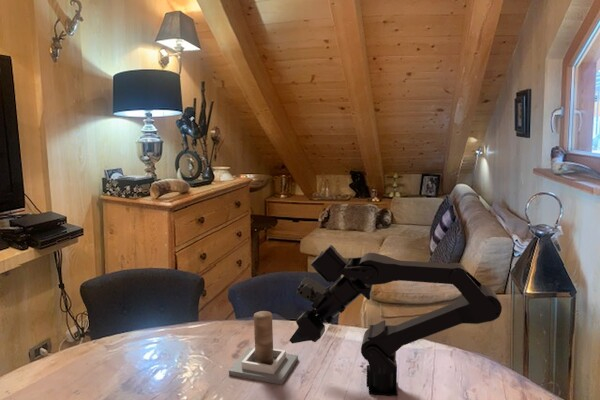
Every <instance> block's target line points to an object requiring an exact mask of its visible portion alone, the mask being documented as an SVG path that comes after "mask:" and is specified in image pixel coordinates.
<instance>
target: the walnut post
mask: <svg viewBox="0 0 600 400" xmlns="http://www.w3.org/2000/svg"><path fill="white" fill-rule="evenodd" d="M253 329H254V330H253V332H254V334H253V335H254V347H255V361H256V363H261V364H267V365H272V364H273V363H274V358H273V349H274V331H273V329H274V328H273V313H272V312H271V311H268V310H267V311H266V310H262V311H261V310H260V311H257V312H255V313H254V314H253Z"/></svg>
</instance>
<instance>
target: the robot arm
mask: <svg viewBox="0 0 600 400" xmlns="http://www.w3.org/2000/svg"><path fill="white" fill-rule="evenodd" d="M309 266H310V267H311V268H312V269H313V270H314V271H315V272H316V273H317V274H318V275H319V276H320V277H321V278H322V279H323V280H324V281H325V282H326V283H327V282H328V283H334V284H332V285H331V284H329V286H327V287H326V286H324V285H323V284H321V283H320V282H318V281H316V280H315V279H312V278H311V277H310V276H305V277H304V278H303V279H302V280H301V282H300V284H299V285H298V287H297V290H296V295H297V296H299V297H300V298H302V299H304V300H305V301H309V302H312V303H311V304H310V306H311V307H312V309H311V310H305V311H304V312H302V314H301V315H300V316H299V317H298V318H297V319H296V321H295V322H296V325H297V328H296V330H295V331H294V333H293V334H292V336H291V337H290V338H289V342H290V343H291V344H297V343H303V342H309V341H311V342H313V343H316V342H317V341H318V340H320V339H321V338H322V336H323V335H324V334H325V332H326V326H325V324H324V322H325V321H326V322H327V324H330V323H332V322H333V320H334V318H336V317H337V315H339V314H342V313H344V311H345V310H346V309H347V307H348V306H349V305H351V304H352V303H353V302H354V301H355V300H356V299H358V298H359V297H360V296H363V298H365V299H366V300H368V301H370V300H371V298H372V294H373V291H372V290H373V286H375V285H377V286H378V285H385V284H389V283H392V282H400V281H401V282H403V281H404V282H413V283H414V282H415V283H417V282H418V283H430V284H441V285H442V284H444V285H453V286H454V287H455V288H456V289H457V290H458V292H459V293H460V294H461V295H460V296H459V297H458V298H457V299H456V300H455V301H454V302H451V303H450V304H448V305H445V306H442V307H439V308H437V309H435V310H432V311H430V312H427V313H425V314H423V315H422V314H421V315H420V316H417V317H413V318H412V319H409V320H407V321H404V322H401V323H399V324H395V325H389V324H388V325H387V321H386V320H385V319H384V320H382V321H380V322H378V323H376V324H369V328H368V329H366V330H365V332H364V334H363V335H362V340H361V341H362V342H361V347H360V353H361V357H363V359H364V360H366V361H367V363H368V364H367V365H366V387H367V388H368V395H380V396H392V397H395V396H398V393H399V392H398V386H397V385H398V383H397V380H398V379H397V378H398V376H397V375H398V365H397V351H398V350H399V349H401V348H402V347H404V346H406V345H408V344H412V343H414V342H416V341H417V342H418V341H419V340H422V339H425V338H428V337H430V336H433V335H435V334H438V333H440V332H443V331H446V330H449V329H452V328H454V327H457V326H460V325H462V324H463V325H464V324H466V325H467V324H469V325H479V324H483V323H490V322H493V321H495V320H497V319H499V317H500V316H501V313H502V309H503V307H502V303H501V301H500V300H499V298H498V295H497V294H496V292H495V290H494V289H493V288H492V287H490V286H487V285H485V284H482V283H481V282H480V281H479V280H478V279H477V278H476V277H475V276H474V275H473V274H472V273H470V272H469V271H468V270H467V269H466V268H465V266H464V265H463V264H461V263H460V262H453V263H447V262H430V261H415V260H414V261H413V260H400V259H396V258H393V257H390V256H388V255H384V254H379V253H376V252H367V253H365V254H363V256H360V257H359V256H358V257H350V258H349V257H347V259H345V258H344V257H343V256H342V255H341V254H340V253H339V252H338V250H337V249H336V248H335V246H333V245H332V244H331V245H329V246H328V247H327V248H325V249H324V250H322V251H321V252H320V253H318V255H316V257H314V259H313V260H312V261H311V262H310V263H309Z"/></svg>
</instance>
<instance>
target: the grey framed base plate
mask: <svg viewBox="0 0 600 400" xmlns="http://www.w3.org/2000/svg"><path fill="white" fill-rule="evenodd" d="M273 358H274V363H273V364H272V365H267V364H261V363H256V361H255V346H254V347H248V349H247V350H246V351H245V352H244V353H243V354H242V355H241V356H240V357H239V358H238V359H237V361H236V362H235V363H234V364H233V365H232V366H231V367H230V368H229V370H228V376H233V377H238V378H243V379H249V380H255V381H260V382H267V383H271V384H277V385H283V383H284V382H285V380H286V379H287V377H288V376H289V374H290V372H291V371H292V370H293V368H294V366H295V365H296V363H297V362H298V361H299V355H297V354H293V353H287V351H286V350H284V349H279V348H273Z"/></svg>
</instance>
